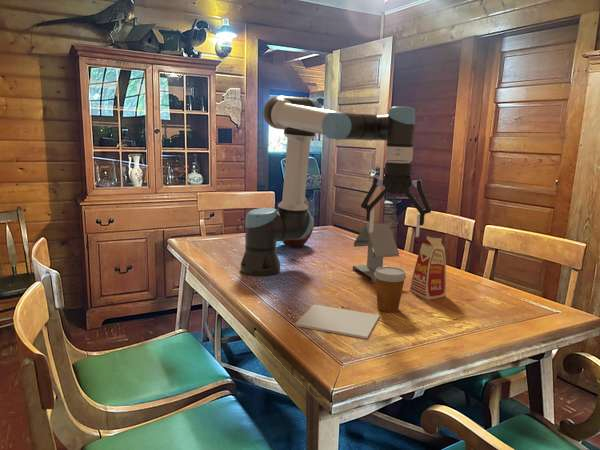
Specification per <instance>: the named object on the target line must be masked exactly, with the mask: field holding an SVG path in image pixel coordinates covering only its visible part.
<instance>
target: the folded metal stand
mask: <svg viewBox="0 0 600 450" xmlns="http://www.w3.org/2000/svg"><path fill="white" fill-rule="evenodd" d="M369 224H370V223H365V224H364V226H363V227H362V229H361V231H360V232H359V234H358V235H357V237H356V239H355V240H354V242H353V246H354V247H355V248H356V247H367V255H366V258H367V259H366V264H364V265H363V264H362V265H353V266H352V271H360V272H362V273H364V274H365V275H366V276H368V277H370V279H371V280H370V282H371V283H372V284H376V277H375V275H374V273H375V272H376V269H377V268H379V267H384V266H383V265H384V258H392V257H393V258H395V257H400V252H399V249H398V246H397V242H396V240H395V237H394V234H393V231H392V228H391V226H390V224H389V223H388V222H387V223H386V222H385V223H374V227H373V232H372V233H369Z"/></svg>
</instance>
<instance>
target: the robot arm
mask: <svg viewBox="0 0 600 450" xmlns="http://www.w3.org/2000/svg"><path fill="white" fill-rule="evenodd" d="M262 114H263V119H264V121H265V122H266V124H268V125H269V126H270V127H272V128H273V129H278V130H283V134H284V136H285V137H286V139H287V140H286V141H287V142H286V151H285V153H286V154H285V163H284V164H285V165H284V176H283V177H284V178H283V188H282V200H281V202H279V203H278V204H277V209H276V208H274V207H260V208H259V207H258V208H255V209H251V210H249V211H248V212H247V213H246V215H245V223H244V226H245V228H244V229H245V237H244V239H245V240H244V241H245V242H244V243H245V249H244V253H243V255H242V260H241V263H240V272H241V271H242V272H241V273H243V274H245V273H246V275H248V274H249V275H250V276H255V275H256V276H257V277H259V276H260V277H261V276H263V277H264V276H273V275H277V274H279V273H281V263H280V260H279V255H278V252H277V243H278V242H282V241H286V240H297V239H300V238H304V237H306V236H307V235H308V234H309V233H310V231H311V228H312V223H313V220H314V219H313V220H312V218H311V216H312V217H313V215H312V213H311V212H310V210H309V211H308V207H307V206H306V203H305V197H306V189H307V179H308V170H309V158H310V148H311V141H312V140H313V139H314V138H315V137H316V134H318V135H322V136H325V137H326V138H327V139H331V140H336V141H337V140H338V141H340V140H352V141H353V140H356V141H357V140H358V141H370V142H371V141H386V144H385V145H386V149H385V160H386V162H385V165H384V176H383V178H381V177H377V176H376V177H374V178H373V180H372V185H371V187H370V188H369V190H368V191H367V194H366V195H365V198H364V199H363V201H362V203H361V204H360V207H361V208H362V209H364V210H366V219H365V220H366V221H367V222H369V223H368V224H369V233H372V232H373V227H374V224H375V222H374V221H375V209H373V208H374V207H376V205H377V204H379V202H380V201H381V200H382V199H383V198H384V197H385V196H386V195H387V194H388V193H389V194H390V195H395V194H396V195H405V196H406V197H407V198H408V199H409V201H410V202H411V204H412V205H413V206H414V207H415V209H416V210H417V211H418V213H417V214H416V226H415V227H416V228H415V238H419V236H420V227H421V226H423V225H424V224H425V215H426V214H430V213H431V212H432V208H431V205H430V203H429V200H428V198H427V196H426V192H425V191H424V188H423V181H422V179H418V180H412V169H413V168H412V167H413V164H412V163H411V162H412V161H413V156H414V155H413V154H414V153H413V152H414V139H415V138H414V135H415V128H416V109H415V108H414V107H412V106H390V107H389V109H388V113H387V114H369V113H368V114H367V113H355V112H354V113H353V112H346V111H345V112H344V111H337V110H330V109H326V108H325V109H324V108H322V105H320V102H318V100H316V99H314V98H310V97H306V96H305V97H299V96H287V95H277V96H276V95H275V96H273V97H272V98H270V99H268V100H267V101H266V103H265V104H264V107H263V111H262ZM381 184H383V185H384V189H383V190H381V192H380V193H379V194H378V195H377V196H376V197H375V198H374V199H373V200H372V201H371V203H369V202H370V200H371V198H372V197H373V195H374V193H375V191H376V189H377V188H378V187H379V186H380V185H381ZM412 185H413V186H414V188H417V192H418V196H420V199H421V202H422V204H423V206H424V208H423V206H422V205H421V204H420V202H419V200H417V198H416V197H415V196H414V195H413V193H412V191H411V189H409V188H411V186H412ZM368 203H369V204H368Z"/></svg>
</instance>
